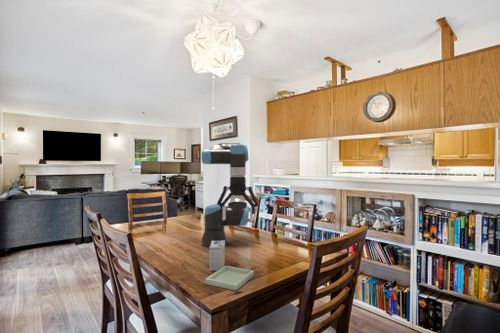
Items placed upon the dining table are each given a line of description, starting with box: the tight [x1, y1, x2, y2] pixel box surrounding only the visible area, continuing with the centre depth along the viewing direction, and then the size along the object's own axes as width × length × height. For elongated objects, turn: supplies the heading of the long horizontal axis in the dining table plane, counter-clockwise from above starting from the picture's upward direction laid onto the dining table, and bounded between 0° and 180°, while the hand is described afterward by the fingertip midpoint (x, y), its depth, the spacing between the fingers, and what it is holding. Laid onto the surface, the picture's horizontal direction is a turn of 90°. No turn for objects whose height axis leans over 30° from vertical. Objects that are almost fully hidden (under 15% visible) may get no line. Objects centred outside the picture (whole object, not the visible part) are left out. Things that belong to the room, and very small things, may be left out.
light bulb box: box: [208, 240, 226, 272], centre depth 128 cm, size 11×7×11 cm, turn 3°
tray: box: [204, 265, 255, 292], centre depth 114 cm, size 14×16×2 cm
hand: (237, 220), depth 133 cm, fingers open, 13 cm apart
